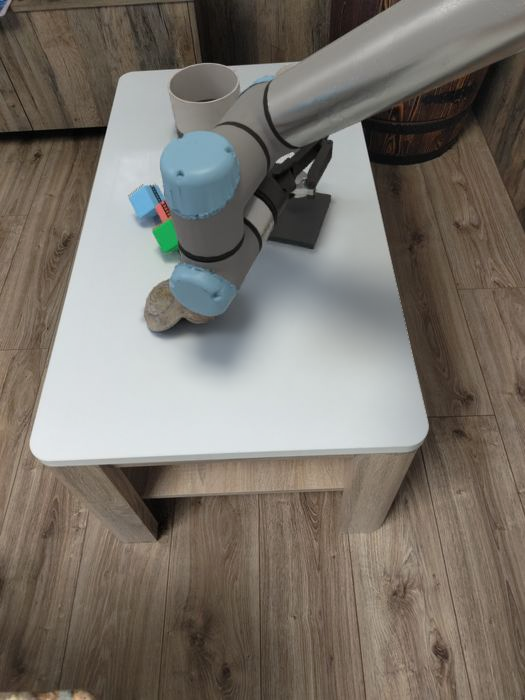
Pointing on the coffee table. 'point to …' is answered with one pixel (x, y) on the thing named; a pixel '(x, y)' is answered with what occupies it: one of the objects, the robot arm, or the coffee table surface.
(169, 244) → the building blocks
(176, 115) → the planter
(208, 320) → the fossilized seashell
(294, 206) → the scale
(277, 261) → the coffee table surface
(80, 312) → the coffee table surface
